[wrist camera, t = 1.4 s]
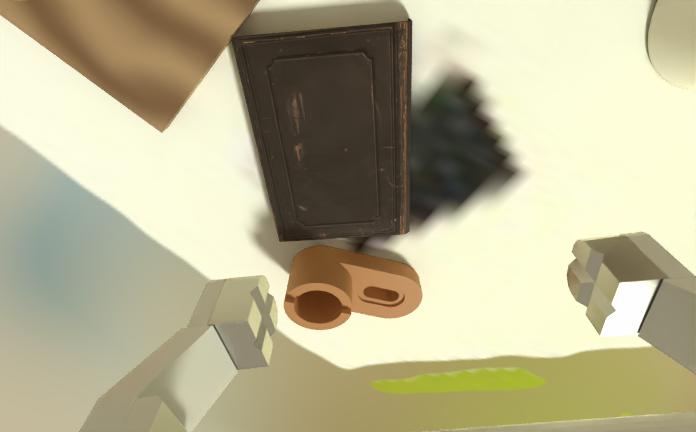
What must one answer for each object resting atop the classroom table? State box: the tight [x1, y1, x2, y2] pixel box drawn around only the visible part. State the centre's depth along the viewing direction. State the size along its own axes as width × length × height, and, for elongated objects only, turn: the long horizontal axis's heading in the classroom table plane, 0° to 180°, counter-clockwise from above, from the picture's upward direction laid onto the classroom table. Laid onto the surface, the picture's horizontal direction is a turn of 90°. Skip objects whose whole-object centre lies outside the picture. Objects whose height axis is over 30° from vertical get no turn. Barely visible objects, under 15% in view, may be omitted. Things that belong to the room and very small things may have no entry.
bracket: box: [284, 246, 422, 330], centre depth 48 cm, size 18×8×7 cm, turn 74°
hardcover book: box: [231, 19, 412, 242], centre depth 39 cm, size 16×23×2 cm
